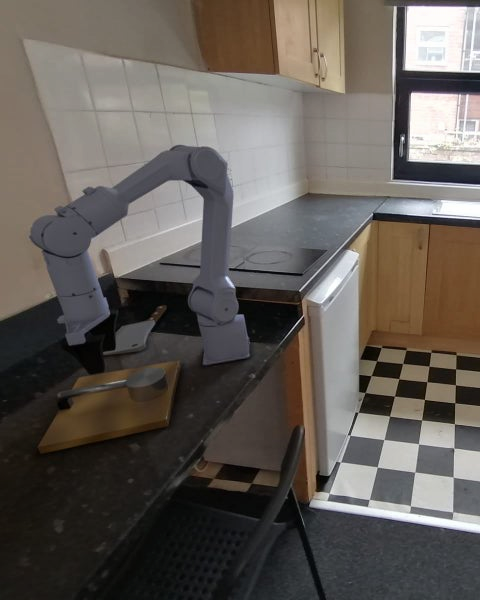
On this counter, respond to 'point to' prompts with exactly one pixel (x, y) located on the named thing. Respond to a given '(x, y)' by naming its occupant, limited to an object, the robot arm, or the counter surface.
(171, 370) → the chopping board
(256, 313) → the counter surface
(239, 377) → the counter surface
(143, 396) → the grey disc-end rod
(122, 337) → the kitchen cleaver
